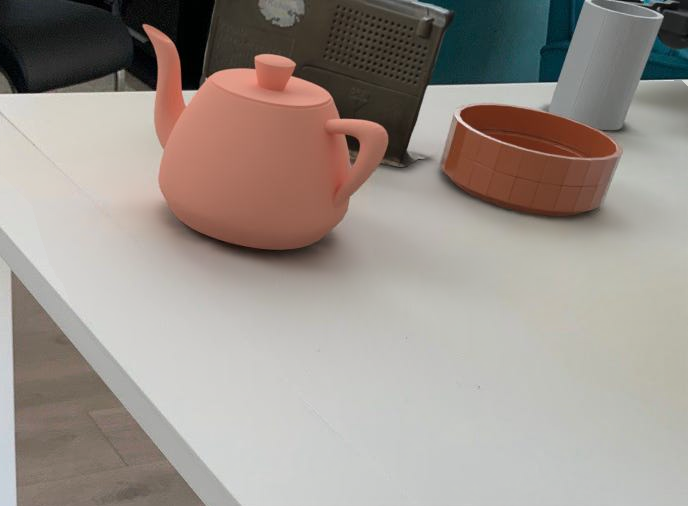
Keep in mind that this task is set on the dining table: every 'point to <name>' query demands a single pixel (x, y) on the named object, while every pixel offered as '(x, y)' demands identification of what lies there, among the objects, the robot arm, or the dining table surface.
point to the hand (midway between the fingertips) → (649, 32)
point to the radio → (341, 54)
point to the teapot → (257, 152)
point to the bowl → (529, 159)
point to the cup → (605, 62)
